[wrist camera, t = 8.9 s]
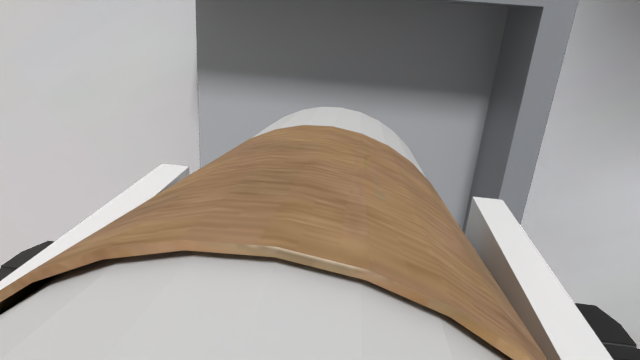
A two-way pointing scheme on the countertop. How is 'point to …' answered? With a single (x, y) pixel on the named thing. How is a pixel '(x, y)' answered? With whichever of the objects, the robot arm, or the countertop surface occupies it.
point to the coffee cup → (275, 264)
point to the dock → (393, 80)
